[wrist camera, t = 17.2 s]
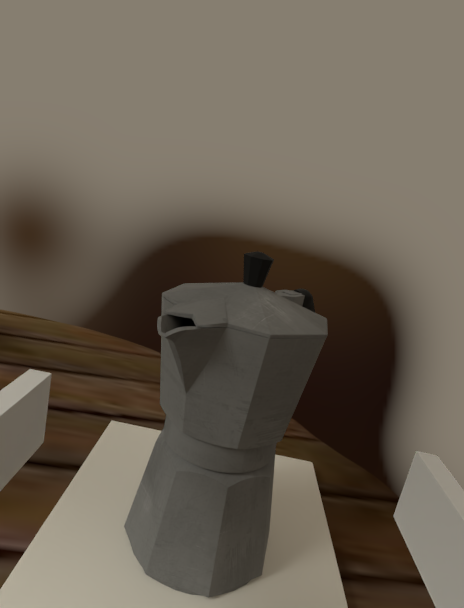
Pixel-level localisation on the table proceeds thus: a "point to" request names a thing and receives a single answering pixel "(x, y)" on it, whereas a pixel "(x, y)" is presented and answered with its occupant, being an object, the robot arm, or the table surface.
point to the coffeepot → (221, 428)
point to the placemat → (125, 567)
